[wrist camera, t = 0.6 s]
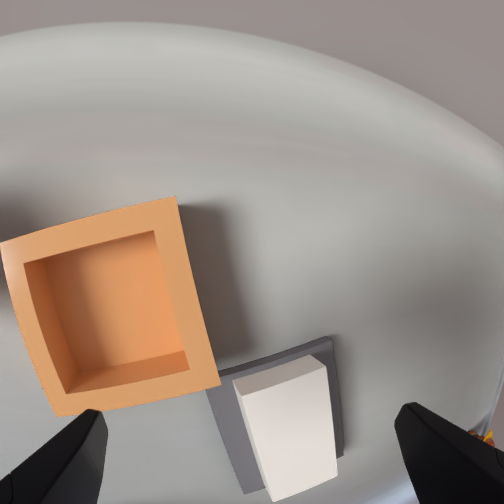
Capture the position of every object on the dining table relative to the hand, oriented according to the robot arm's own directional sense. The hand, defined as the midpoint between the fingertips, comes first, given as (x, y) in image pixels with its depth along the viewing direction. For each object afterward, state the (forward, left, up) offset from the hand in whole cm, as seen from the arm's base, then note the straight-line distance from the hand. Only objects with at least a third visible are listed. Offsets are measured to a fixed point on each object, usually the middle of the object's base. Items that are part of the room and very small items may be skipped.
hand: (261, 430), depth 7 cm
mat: (-11, -4, -14) cm, 18 cm away
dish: (+2, +6, -14) cm, 15 cm away
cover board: (-11, -4, -13) cm, 17 cm away
